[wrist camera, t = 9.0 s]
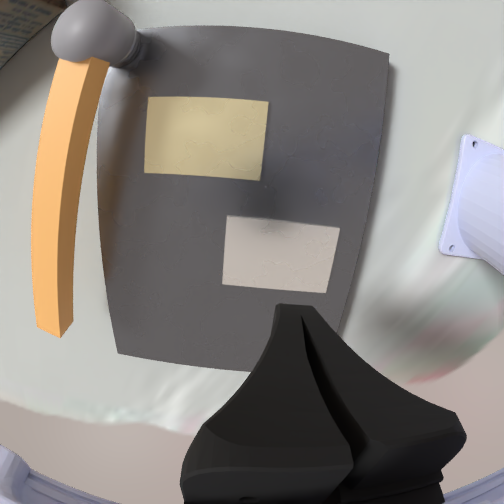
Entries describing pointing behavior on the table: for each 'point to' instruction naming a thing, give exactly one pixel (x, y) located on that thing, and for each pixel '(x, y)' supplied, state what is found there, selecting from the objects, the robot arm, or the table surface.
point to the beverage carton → (24, 22)
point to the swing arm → (69, 148)
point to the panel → (232, 185)
